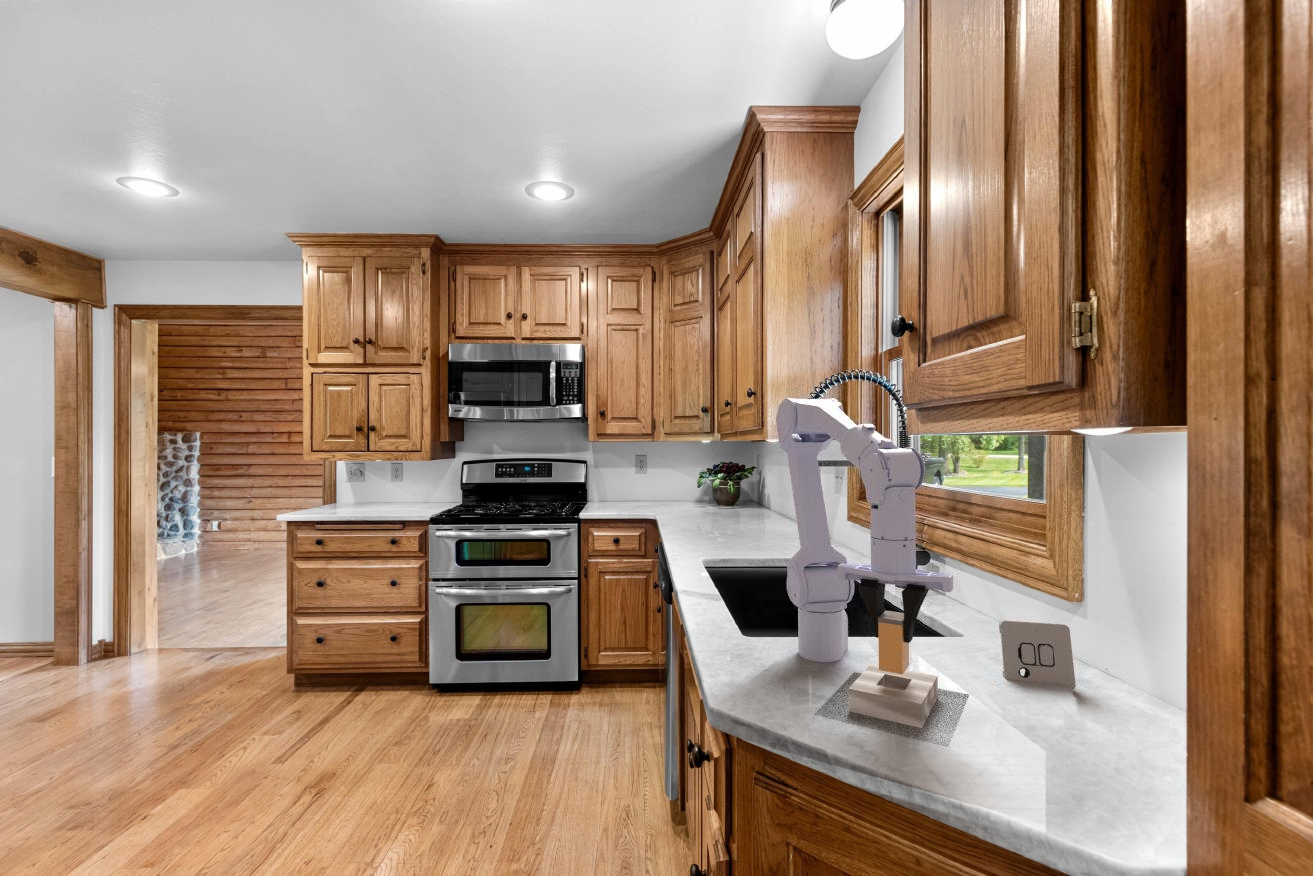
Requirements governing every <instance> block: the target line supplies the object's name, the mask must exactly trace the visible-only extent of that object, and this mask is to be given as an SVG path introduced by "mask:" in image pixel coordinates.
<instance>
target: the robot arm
mask: <svg viewBox="0 0 1313 876" xmlns="http://www.w3.org/2000/svg"><path fill="white" fill-rule="evenodd" d="M776 412H777V413H776V417H775V421H776V422H775V423H776V429H777V430H776V432H777V437H778V442H779V448H780V449H781V450H782V451H784V452H785V453H786V455H787V462H788V467H789V468H788V469H789V476H790V481H791V482H790V485H791V489H792V497H793V505H794V510H795V517H796V518H795V519H796V525H797V532H798V539H799V540H798V541H799V546H800V548H799V549H798V551H797V552H796V553H795V554H793V556H791V557H790V558H789V560H788V561H787V563H786V569H787V576H786V577H787V578H786V591H787V595H788V597H789V600H790V601H791V602H792V604H793V605H794V606H795V607H797V611H798V613H797V614H798V615H797V617H798V618H797V621H798V622H797V623H798V624H797V625H798V626H797V627H798V631H797V633H798V634H797V635H798V637H797V640H798V647H797V648H798V655H799V656H800V657H801V658H803V659H805V660H808V661H812V662H819V663H831V662H832V663H833V662H838V661H840V660H842V659H843V658H844V654H845V652H847V651H848V649H849V630H848V629H849V625H848V624H849V622H848V621H849V619H848V614H847V613H846V611H845V609H847V608H848V604H849V602H851V601H852V599H853V596H854V593H855V582H854V581H858V582H859V581H860V583H859V585H858V587H857V588H858V592H859V595H860V597H861V598H862V600H863V601H864V603H865V606H866V608H867V610H868V613H869V616H870V619H871V622H872V626H873V630H874V636H875V638H878V639H879V633H878V617H879V616H880V615H881V614H882V613H883V612H885V609H884V607H885V594H886V593H885V591H886V585H894V586H902V587H903V586H904V587H906V588H904V589H903V590H902V591H901V598H902V606H903V613H904V630H903V637H904V642H906V643H909V644H910V643H911V641H913V636H914V630H915V626H916V621H917V618H918V615H919V612H920V610H921V607H922V605H923V603H924V602H925V601H924V600H925V599H926V597H927V594H928V593H929V590H937V591H941V592H944V593H951V592H952V591H953V590H954V575H953V574H950V573H949V574H948V573H941V572H936V571H929V570H924V569H917V556H916V555H917V551H916V550H917V549H916V547H917V546H916V545H917V544H916V539H917V535H916V533H917V531H916V525H917V524H916V522H917V521H916V490H918V489H919V488H920V487H922V485H923V483H924V480H925V477H926V476H925V475H926V466H925V461H924V459H923V457H922V455H921V453H919V452H918V451H917V449H916V448H915V447H907V446H906V447H903V448H902V447H898V446H897V445H895V444H894V441H893V440H891V439H889V438H886V437H885V436H883V435H882V434H881V433H879V432H878V431H877V430H876V426H875V425H873V424H872V423H862V424H856V423H855V422H854V421H853V420H851V418H850V417H849V416H848V415H846V414H845V412H844V406H843V404H842V403H841V402H839V401H838V400H837V399H835V398H826V399H824V398H823V399H819V398H816V399H815V398H814V399H813V398H812V399H811V398H810V399H809V398H791V397H790V398H789V397H786V398H784V399H782V400H781V402H780V403H779V405H778V407H777V411H776ZM833 439H834V440H835V441H836V442H838V443H839V444H840V445H839V448H840V452H841V454H842V455H843V457H845V459H847V461H849V462H850V463H851V464H853V466H855V467H856V468H857V469H858V470H859V471H860V476H861V480H862V483H863V485H864V488H865V499H866V502H867V503H868V504H869V505H870V509H869V510H870V511H869V513H870V514H869V515H870V517H869V518H870V564H854V563H848V560H847V557H846V556H845V555H844V554H843V553H841V552H840V551H838V550H837V549H836V548H835V547H833V546H832V543H831V535H830V529H829V524H828V518H827V512H826V505H825V504H826V503H825V498H824V492H823V484H822V478H821V473H820V467H819V460H818V456H819V454H820V452H822V451H825V450H826V449H828V448H829V447H830V445H831V443H832V441H833ZM811 566H813V567H811ZM814 566H816V567H814Z"/></svg>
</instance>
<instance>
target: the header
mask: <svg viewBox="0 0 1313 876" xmlns="http://www.w3.org/2000/svg"><path fill="white" fill-rule="evenodd" d="M938 677H939V675H935V674H928V673H924V672H918V671H913V670H907V669H906V670H905V672H904V673H903V674H897V673H892V672H886V671H881V670H879V664H876V663H870V664H869V666H868V667H867V668H866V669H864V671H863V672H862V673H860V672H858V673H857V672H855V671H854V672H853V673H851V675H850V676H849V677H848V678H847V679H846V680H845V682H844V683H842V685H841V686H840V687H839V688H838V689H837V690H836V691H835V692H833V694H832V695H831V696H830V697H829V698H828V699H827V700H826V702H825V703H824V704H823V705H822V706H821V707H820V708H819V709H818V710H817V711H816V713H815V714H816V716H819V714H820V715H823V713H824V715H823V718H825V719H826V718H827V719H829V718H831V719H832V720H834V721H835V720H836V721H840V722H842V723H844V722H845V723H848V724H852V725H856V726H860V727H863V728H865V724H866V727H868V728H869V729H874V730H877V731H880V732H884V733H888V734H889V733H890V734H895V732H896V736H902V735H903V737H905V738H906V737H908V738H909V739H914V740H918V741H919V739H920V736H919V735H918V734H922V741H923V742H926V743H932V744H935V745H938V744H939V742H940V744H941V745H944V747H947V748H948V745H950V743H951V742H952V741H951V740H952V738H953V736H952V734H954V733H955V731H956V728H957V726H958V725H957V724H958V723H959V721H960V718H961V715H962V714H963V712H964V709H965V706H966V704H967V700H968V699H969V696H970V694H968V693H967V694H966V693H962V692H959V694H957V692H956V691H952V690H948V689H946V690H944V689H943V688H939V685H938V684H939V682H938V681H939V679H938ZM948 699H950V700H949V702H948ZM847 700H848V702H847ZM957 701H958V702H957ZM837 702H840V703H837ZM831 703H833V704H831ZM956 704H957V706H956ZM950 713H951V714H950ZM958 713H959V715H956V714H958ZM837 714H838V716H837ZM931 714H932V715H931ZM938 714H942V715H938ZM948 714H949V715H948ZM947 718H948V719H949V721H948V719H947ZM873 719H874V720H873ZM861 720H863V721H861ZM878 721H879V722H878ZM942 721H943V722H942ZM874 723H875V724H874ZM948 724H949V725H948ZM878 725H880V726H879V727H878ZM893 725H895V726H893ZM930 726H932V727H930ZM951 727H952V728H951ZM902 729H903V731H902ZM921 729H922V731H921ZM914 732H916V733H914ZM942 733H943V734H942ZM930 734H931V736H930ZM948 735H949V736H948ZM914 736H915V737H914ZM941 737H943V739H941ZM948 739H949V740H948ZM933 741H934V742H933Z"/></svg>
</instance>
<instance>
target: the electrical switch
mask: <svg viewBox="0 0 1313 876" xmlns="http://www.w3.org/2000/svg"><path fill="white" fill-rule="evenodd" d="M998 629H999V634H1000V642H1001V654H1002V655H1001V656H1002V666H1003V667H1002V668H1003V671H1002V677H1003V678H1004V679H1005V680H1012V681H1023V682H1035V683H1048V684H1054V685H1060V686H1066V687H1072V690H1074V689H1076V686H1077V685H1076V678H1075V665H1074V659H1073V648H1072V647H1073V646H1072V640H1071V639H1072V638H1071V630H1070V627H1069V626H1068V625H1066V624H1063V623H1055V622H1054V623H1052V622H1051V623H1050V622H1039V621H1038V622H1037V621H1020V620H1018V621H1017V620H1001V621H1000V622H999V624H998ZM1021 670H1024V674H1023V675H1022V674H1021Z"/></svg>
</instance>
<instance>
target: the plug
mask: <svg viewBox="0 0 1313 876" xmlns="http://www.w3.org/2000/svg"><path fill="white" fill-rule="evenodd" d="M903 630H904V612H897V611H892V610H884V612H883V613H882V614H881V615H880V616H879V617H878V633H879V638H878V665H879V670H881V671H886V672H892V673H897V674H903V673H904V672H905V670H907V669H908V668H909V666H910V643H906V642H904V637H903Z"/></svg>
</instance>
